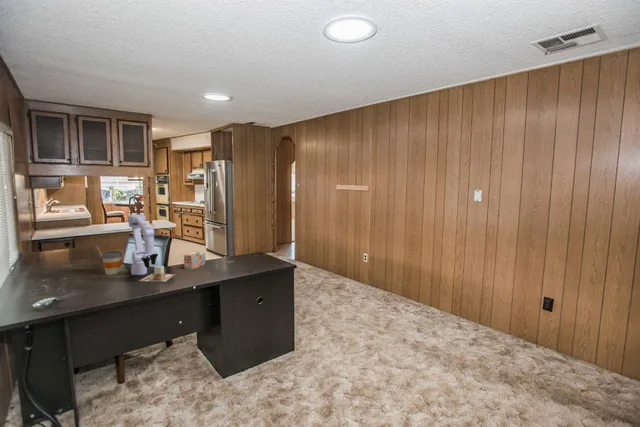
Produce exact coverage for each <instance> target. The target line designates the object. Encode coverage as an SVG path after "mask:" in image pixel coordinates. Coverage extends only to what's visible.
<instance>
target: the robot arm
mask: <svg viewBox="0 0 640 427" xmlns="http://www.w3.org/2000/svg"><path fill="white" fill-rule="evenodd" d="M127 221H128V227H129V228H131V230H132V234H133V240H134V248H135V250H134V251H133V252H132V253H131V260H132V263H131V268H130V271H131V275H137V276H141V275H142V276H144V275H146V274H147V273H148V269H149V268H150V265H152V266H153V265H156V261H157V258H158V257H159V254H158V253H157V252H158V251H157V250H156V249H155V236H156V230H155V228H154V227H151V226H150V225H149V224H148V222H146V216H145V214H144V213H142V214H129V215H128V216H127ZM141 232H142V233H141ZM142 236H143V237H142ZM142 238H143V239H142ZM143 240H144V245H143Z"/></svg>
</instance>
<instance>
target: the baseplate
mask: <svg viewBox="0 0 640 427" xmlns="http://www.w3.org/2000/svg"><path fill="white" fill-rule="evenodd" d="M153 274H154V273H151V274H150V275H147V276H146V277H143V278H142V279H140V280H139V282H167V281H169V280H170V279H171V278H173V277H175V276H176V275H177V274H176V273H175V274H173V273H169V274H168V273H165V279H163V280H161V281H159V280H153Z"/></svg>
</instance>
